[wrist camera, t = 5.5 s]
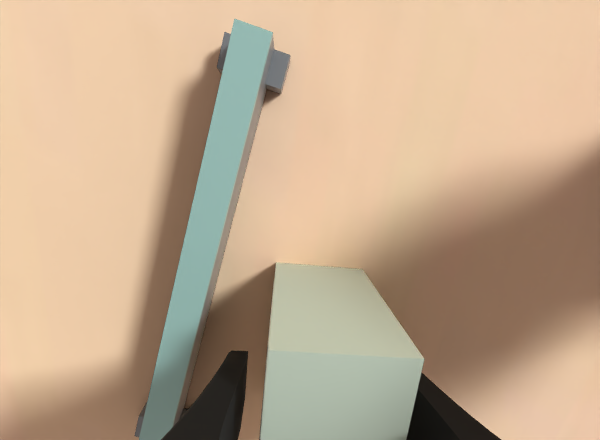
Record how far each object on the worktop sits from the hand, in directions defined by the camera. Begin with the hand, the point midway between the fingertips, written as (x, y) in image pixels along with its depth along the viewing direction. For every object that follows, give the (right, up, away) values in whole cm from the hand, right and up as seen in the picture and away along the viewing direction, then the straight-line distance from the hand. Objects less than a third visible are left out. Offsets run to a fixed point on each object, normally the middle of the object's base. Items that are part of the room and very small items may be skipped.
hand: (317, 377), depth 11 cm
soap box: (0, 0, +3) cm, 3 cm away
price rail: (-5, +4, +2) cm, 7 cm away
